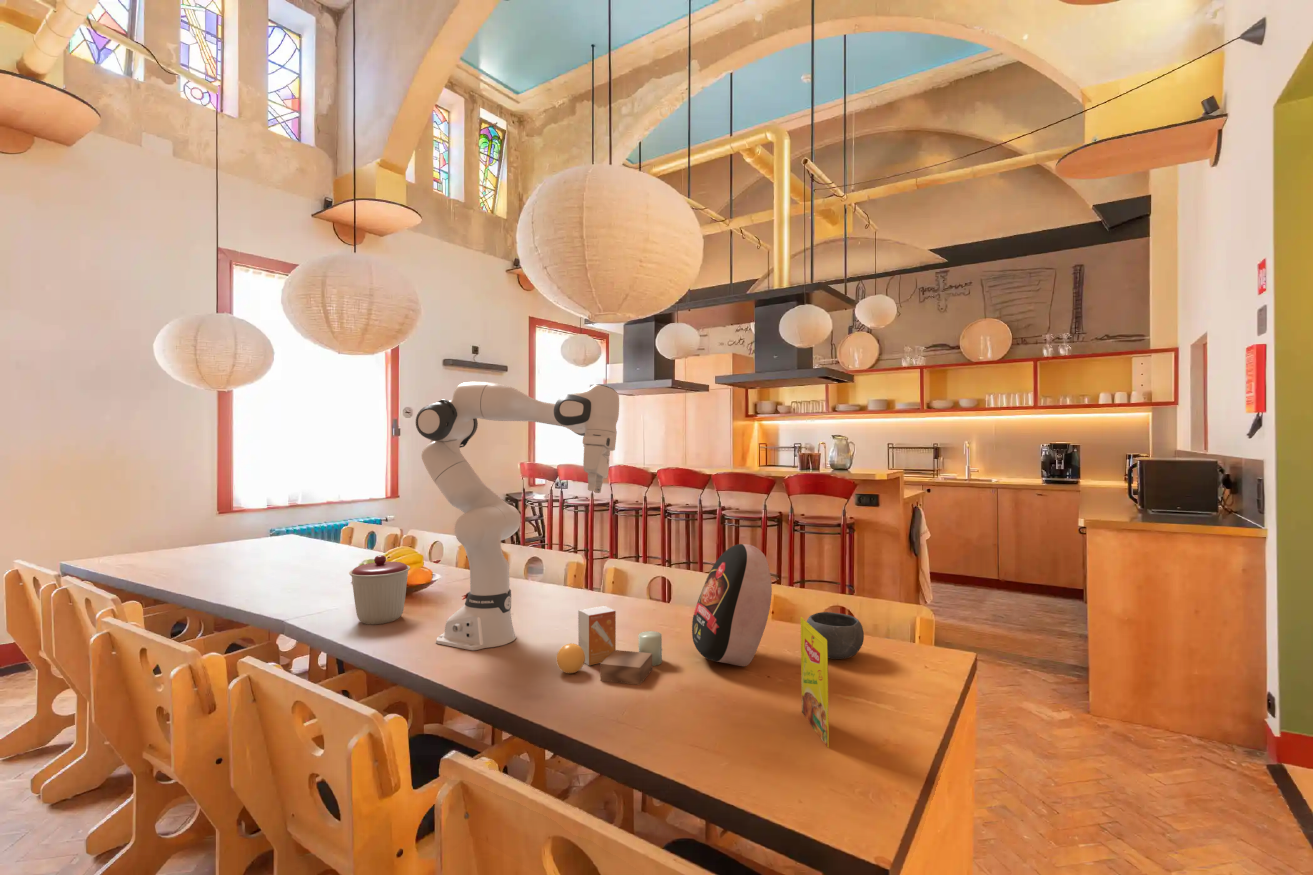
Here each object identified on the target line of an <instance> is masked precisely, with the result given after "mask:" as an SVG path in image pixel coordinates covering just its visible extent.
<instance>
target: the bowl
mask: <svg viewBox="0 0 1313 875" xmlns="http://www.w3.org/2000/svg"><path fill="white" fill-rule="evenodd" d="M806 622H807V623H808V624H809V625H811V626H812V627H813V628H814V629H815V630H816V631H817V632H818V633H820V634H821V635H822V636H823V637H824V638H825V639H826V640H827V649H828V659H831V660H832V659H833V660H843V659H848V658H851V657H853V656H855V655H856V654H857V653H859V651H860V650H861V648H862V647H863V644H864V640H865V638H864V637H865V634H864V628H863V626H862V623H861V622H860V620H859V619H858V618H857V617H854V616H853V615H850V614H845V613H839V612H831V611H821V612H816V613H813V614H811V615H809V616H808V618H807V620H806Z"/></svg>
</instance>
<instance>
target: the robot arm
mask: <svg viewBox="0 0 1313 875" xmlns="http://www.w3.org/2000/svg"><path fill="white" fill-rule="evenodd" d="M619 415H620V395H619V393H618V392H617V390H615V389H614V388H613V387H609V386H608V385H604V384H600V383H599V384H593V385H592V386H590V387H589V388H587V389H585V390H582V391H580V392H579V391H578V392H576V393H569V394H564V395H562V396H560V397H559V398H558V400H556V402H555V403H550V402H545V401H541V400H538V399H535V398H533V397H531V396H529V395H527V394H525V393H524V392H522V391H521V390H518V389H516V388H514V387H512V386H509V385H506V384H502V383H499V382H498V383H497V382H490V381H467V382H465V381H464V382H462V383H460V384H458V385H457V386H456V388H455V389H454V391H453V395H452V397H451V399H450V400H448V399H445V398H443V399H440V400H438V401H436V402H434V403H430V404H428V405H426V406H424V407H422V408H421V409H420V410H419V411H418V413H417V414H416V417H415V426H416V429H417V432H418V433H419V434H420V435H421V436H422V437H423V438H426V439H427V440H430V442H429V443H428V444H427V445H426V446H424V448H423V450H422V453H421V459H422V462H423V464H424V467H425V469H426V471H427V473H428V474H429V477H430V478H431V480H432V482H433V483H434V484H435V485H436V486H437V488H438V489H439V490H440V492H441V494H442V495H443V497H444V498H445V499H446V501H447V502H448V503H449V505H451V506H452V507H455V508H456V509H458V510H459V511H461V512H462V513H463V514H461V515H460V516H459V517H458V518H457V520H456V521H455V523H454V535H455V537H456V540H457V542H459V543H460V544H461V545H462V546H463V547H464V548H463V549H464V551H465V554H466V557H467V559H468V565H469V581H470V582H469V585H470V586H469V587H470V588H469V589H470V590H469V591H468V592H467V593H465V594H464V595H461V597H462V598H461V600H462V601H464V600H465V603H464V605H462V606H461V607H460V608H459V609H458V610H457V611H455V612H454V613H453V614H452V615H450V616H449V617H448V618H447V620H446V622H445V626H444V632H443V633H442V634H439V636H437V637H436V639H435V640H436V641H435V644H438V645H443V646H449V647H454V648H458V649H463V650H464V649H465V650H467V651H468V650H469V651H477V650H481V649H485V648H494V647H495V648H496V647H499V646H500V647H501V646H504V645H507V644H509V643H511V642H513V641H515V639H516V638H517V636H516V633H515V629H514V625H513V620H512V619H513V618H512V613H511V612H512V611H511V608H512V590H511V588H510V585H511V583H510V562H509V561H508V560H507V559H506V557H505V555H504V553H503V549H502V546H501V544H502V543H501V542H502V541H504V540H507V539H508V538H511V536H513V535H514V534H515V533H516V532H518V530H519V529H520V527H521V523H522V518H521V514H520V512H519V510H518V509H517V508H516V507H515V506H513V505H511V504H509V503H508V502H506V501H505V500H503V499H502V498H501V497H500V496H499V495H498V494H497V493H495V492H494V491H493V490H492V489H491V488H490V487H488V485H486V483H485V482H484V481H483V480H482V479H481V478H480V476H479V475H478V473H477V472H476V471H475V469H474V468H472V466H471V464H470V462H468V460H467V459H466V457H465V456H464V455H463V453H462V452H461V448H464V447H465V446H466V445H467V444H468V443H469V440H471V439H472V438H473V437H474V435H475V434H476V432H477V430H478V426H479V425H478V423H479V422H478V419H479V420H487V421H498V422H531V423H532V422H533V423H541V424H547V425H552V426H558V427H563V428H566V429H568V430H570V431H572V432H573V433H574V434H576V435H577V436H582V444H583V459H582V460H583V463H582V464H583V471H584V472H585V473H587V490H588V491H589V492H594V493H595V494H601V492H602V486H603V483H604V479H608V477H609V471H610V470H609V469H610V455H611V452H613V451H615V450H616V442H617V434H618V431H617V423H618V421H619Z"/></svg>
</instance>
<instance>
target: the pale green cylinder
mask: <svg viewBox="0 0 1313 875" xmlns="http://www.w3.org/2000/svg"><path fill="white" fill-rule="evenodd" d="M662 636H663V635H662V633H661V632H658V631H652V630H649V631H641V632H640V633H638V652H643V653H652V667H654V666H659V665H661V664H662V663H663V662H662V661H663V650H662V649H663V647H662V644H663V640H662V638H663V637H662Z"/></svg>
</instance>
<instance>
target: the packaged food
mask: <svg viewBox="0 0 1313 875" xmlns="http://www.w3.org/2000/svg"><path fill="white" fill-rule="evenodd" d="M772 587H773V586H772V577H771V572H770V566H769V563H768V559H767V557H766V555H765V553H763V552H762V550H760V549H759V547H758V548H757V547H756V546H755V545H752V544H746V543H737V544H735V545H733V546H730V547H729V548H728V549H726V550H725V551H724V552H723V553H722V554H721V555H720V556H719V557H718V558H717V560H716V561H715V562H714V564H713V566H712V568H711V569H710V570H709V572H708V575H707V577H706V579H705V581H704V584H703V586H702V590H701V591H700V595H699V597H698V600H697V603H696V605H695V609H694V612H693V615H692V616H693V617H692V622H691V623H692V624H691V625H692V626H691V635H692V642H693V644H694V647H695V649H696V650H697V651H698V652H699V654H700V655H701V656H702V657H704V658H705V659H706V660H709V661H712V662H717V663H718V662H719V663H724V664H730V665H733V666H738V667H746V666H748V665H750V663H751V662H752V661H753V659H754V657H755V655H756V653H757V651H758V647H759V646H760V643H761V640H762V638H763V635H764V631H765V630H766V627H767V626H766V625H767V623H768V619H769V614H770V609H771V603H772V595H773V594H772V593H773V592H772V590H773V589H772Z"/></svg>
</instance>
